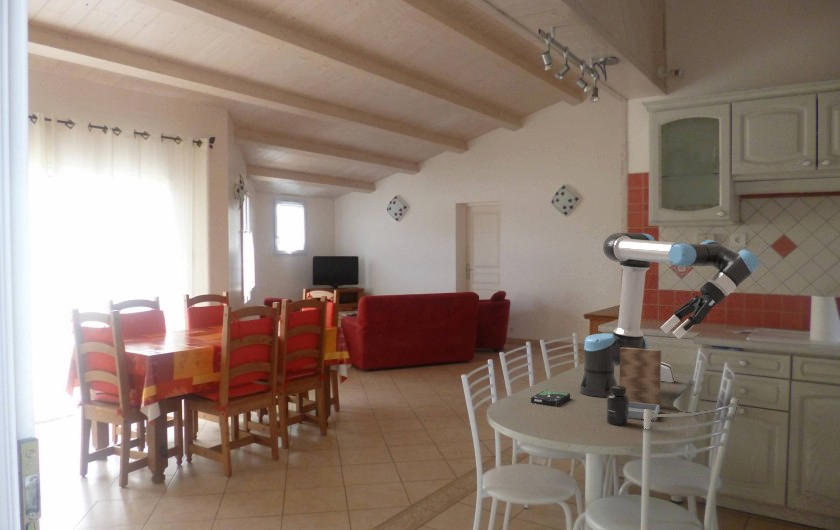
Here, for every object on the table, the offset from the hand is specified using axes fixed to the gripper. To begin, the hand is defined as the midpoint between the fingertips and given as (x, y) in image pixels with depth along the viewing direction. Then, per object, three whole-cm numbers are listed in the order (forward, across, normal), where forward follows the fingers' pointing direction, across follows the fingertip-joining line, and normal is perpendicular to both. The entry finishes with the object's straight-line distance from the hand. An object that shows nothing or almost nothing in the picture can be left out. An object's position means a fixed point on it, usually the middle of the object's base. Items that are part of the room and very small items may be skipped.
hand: (669, 333), depth 202 cm
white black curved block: (+11, +70, -32) cm, 78 cm away
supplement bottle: (+33, -4, -9) cm, 35 cm away
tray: (+26, +9, -16) cm, 32 cm away
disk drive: (+47, +24, +4) cm, 53 cm away
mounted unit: (+23, +22, -19) cm, 37 cm away
